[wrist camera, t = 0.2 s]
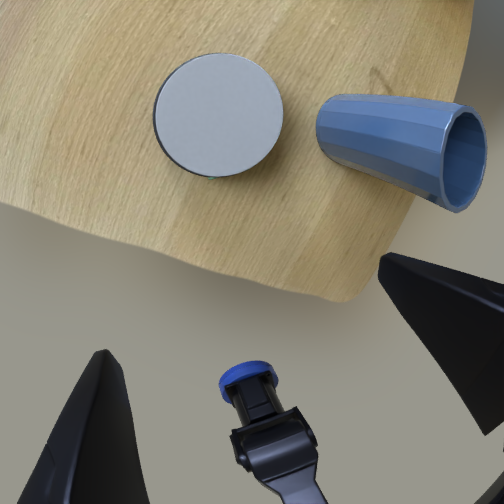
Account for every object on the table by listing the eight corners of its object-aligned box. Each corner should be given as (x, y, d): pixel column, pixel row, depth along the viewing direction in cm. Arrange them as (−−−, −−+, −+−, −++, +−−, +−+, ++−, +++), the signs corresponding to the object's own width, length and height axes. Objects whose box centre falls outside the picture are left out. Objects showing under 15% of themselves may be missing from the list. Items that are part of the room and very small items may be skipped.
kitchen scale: (274, 157, 22) (293, 165, 19) (169, 184, 20) (171, 197, 17) (257, 54, 17) (275, 45, 14) (143, 75, 16) (140, 67, 13)
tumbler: (373, 158, 25) (481, 202, 14) (319, 168, 24) (433, 224, 13) (369, 93, 21) (488, 110, 11) (310, 95, 20) (439, 102, 9)
